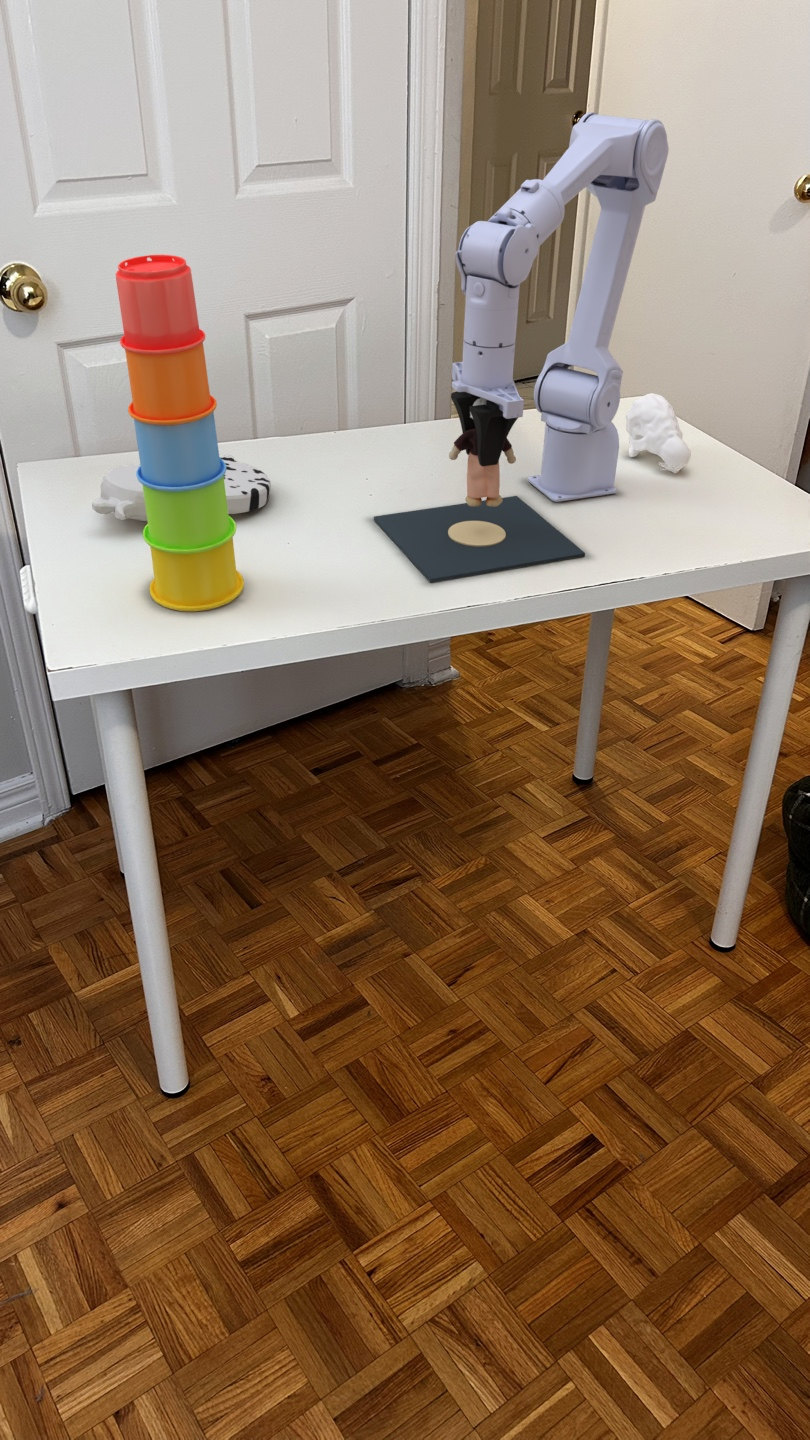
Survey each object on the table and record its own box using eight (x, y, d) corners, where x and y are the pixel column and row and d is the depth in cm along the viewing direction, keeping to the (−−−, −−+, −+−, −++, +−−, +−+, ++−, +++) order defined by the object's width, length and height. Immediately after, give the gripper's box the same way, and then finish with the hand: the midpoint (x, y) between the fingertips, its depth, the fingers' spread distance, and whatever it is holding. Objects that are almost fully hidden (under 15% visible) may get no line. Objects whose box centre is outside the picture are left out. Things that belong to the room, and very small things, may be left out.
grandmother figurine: (506, 494, 137) (514, 390, 130) (514, 506, 134) (522, 401, 126) (444, 497, 136) (448, 393, 128) (450, 510, 132) (455, 404, 125)
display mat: (516, 499, 147) (516, 494, 147) (585, 556, 133) (585, 551, 133) (373, 520, 141) (373, 514, 140) (430, 582, 127) (430, 577, 127)
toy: (95, 477, 149) (91, 534, 132) (95, 442, 146) (91, 495, 130) (260, 489, 154) (277, 544, 137) (263, 455, 152) (280, 508, 135)
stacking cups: (242, 612, 120) (219, 272, 101) (145, 613, 120) (103, 271, 100) (245, 568, 129) (225, 247, 109) (155, 569, 128) (118, 246, 108)
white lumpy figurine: (665, 386, 159) (712, 422, 151) (653, 442, 165) (698, 479, 156) (626, 390, 157) (672, 427, 149) (615, 447, 163) (659, 485, 154)
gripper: (430, 326, 128) (425, 441, 136) (485, 362, 117) (477, 486, 125) (485, 321, 130) (478, 434, 138) (545, 356, 119) (533, 478, 127)
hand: (481, 458), depth 131 cm, fingers closed on grandmother figurine, 3 cm apart
